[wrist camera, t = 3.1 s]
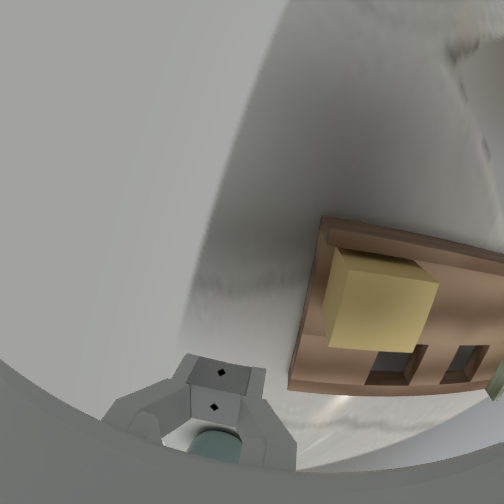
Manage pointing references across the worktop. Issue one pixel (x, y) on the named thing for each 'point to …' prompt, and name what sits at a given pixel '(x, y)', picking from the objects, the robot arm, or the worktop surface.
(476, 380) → the box
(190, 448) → the cup
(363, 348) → the block
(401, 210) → the worktop surface
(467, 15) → the worktop surface
